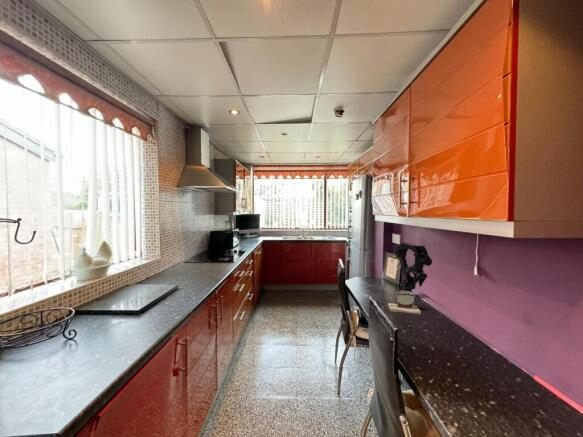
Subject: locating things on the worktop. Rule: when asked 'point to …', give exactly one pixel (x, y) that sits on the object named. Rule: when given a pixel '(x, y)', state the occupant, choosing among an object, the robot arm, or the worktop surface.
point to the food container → (405, 299)
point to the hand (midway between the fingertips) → (418, 284)
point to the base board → (403, 309)
